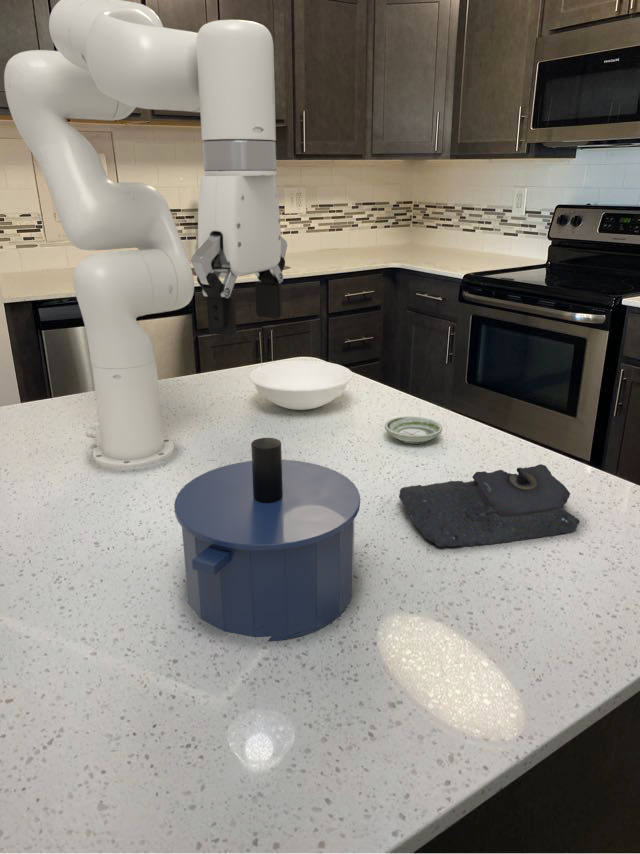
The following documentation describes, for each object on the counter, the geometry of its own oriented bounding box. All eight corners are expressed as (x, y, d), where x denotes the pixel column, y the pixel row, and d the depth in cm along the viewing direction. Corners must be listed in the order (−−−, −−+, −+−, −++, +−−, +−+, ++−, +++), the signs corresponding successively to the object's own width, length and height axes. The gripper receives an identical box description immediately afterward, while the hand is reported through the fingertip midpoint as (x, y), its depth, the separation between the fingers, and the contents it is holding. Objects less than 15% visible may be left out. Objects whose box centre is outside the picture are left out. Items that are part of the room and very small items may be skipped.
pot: (135, 625, 66) (124, 534, 63) (256, 522, 86) (253, 447, 82) (292, 681, 59) (290, 581, 55) (385, 555, 78) (388, 474, 75)
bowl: (305, 383, 142) (305, 354, 139) (373, 406, 128) (374, 374, 126) (229, 404, 129) (228, 373, 127) (295, 431, 116) (295, 397, 113)
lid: (135, 528, 65) (127, 460, 62) (240, 457, 81) (237, 401, 78) (308, 576, 57) (307, 501, 54) (386, 488, 73) (389, 426, 70)
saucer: (448, 434, 114) (449, 420, 114) (430, 453, 106) (431, 439, 106) (396, 424, 119) (397, 412, 118) (375, 443, 111) (375, 429, 110)
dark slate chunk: (386, 497, 92) (387, 465, 91) (527, 479, 97) (530, 449, 96) (430, 554, 78) (432, 518, 77) (592, 530, 84) (597, 496, 82)
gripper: (252, 162, 77) (258, 308, 83) (157, 160, 63) (172, 338, 69) (310, 161, 74) (311, 314, 80) (223, 159, 60) (232, 345, 66)
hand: (247, 325), depth 75 cm, fingers open, 9 cm apart
